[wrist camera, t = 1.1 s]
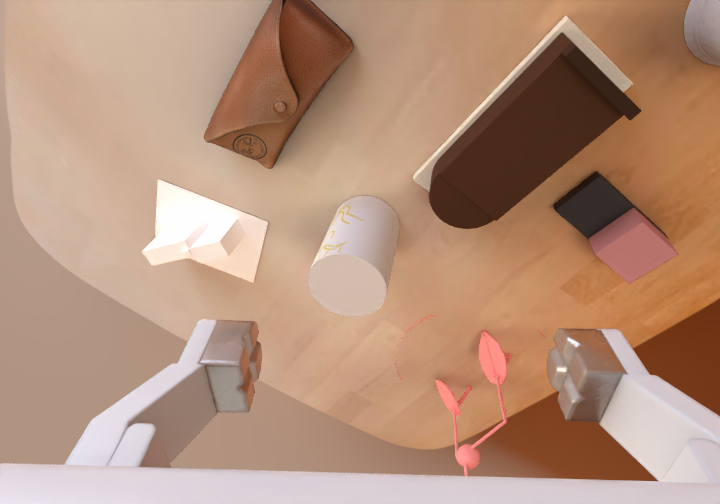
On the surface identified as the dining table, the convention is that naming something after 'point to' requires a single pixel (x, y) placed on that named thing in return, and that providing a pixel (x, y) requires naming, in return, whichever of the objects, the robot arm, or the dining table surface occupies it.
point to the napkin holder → (205, 233)
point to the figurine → (495, 372)
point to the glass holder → (703, 30)
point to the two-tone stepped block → (615, 228)
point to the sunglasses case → (277, 80)
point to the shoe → (526, 129)
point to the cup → (356, 258)
